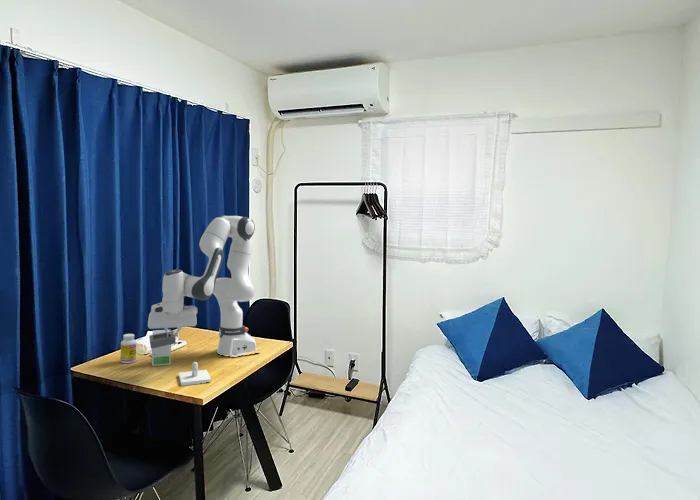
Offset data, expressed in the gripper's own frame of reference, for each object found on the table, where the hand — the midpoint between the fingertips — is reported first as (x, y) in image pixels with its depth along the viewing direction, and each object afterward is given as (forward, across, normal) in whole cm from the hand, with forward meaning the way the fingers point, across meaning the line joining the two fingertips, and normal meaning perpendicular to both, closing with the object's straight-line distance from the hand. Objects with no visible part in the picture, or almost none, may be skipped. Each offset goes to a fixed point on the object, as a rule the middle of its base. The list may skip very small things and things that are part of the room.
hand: (172, 336), depth 196 cm
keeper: (+17, -9, +10) cm, 21 cm away
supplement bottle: (+17, +18, -22) cm, 33 cm away
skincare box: (+17, +4, -15) cm, 23 cm away
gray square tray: (+2, +4, 0) cm, 5 cm away
